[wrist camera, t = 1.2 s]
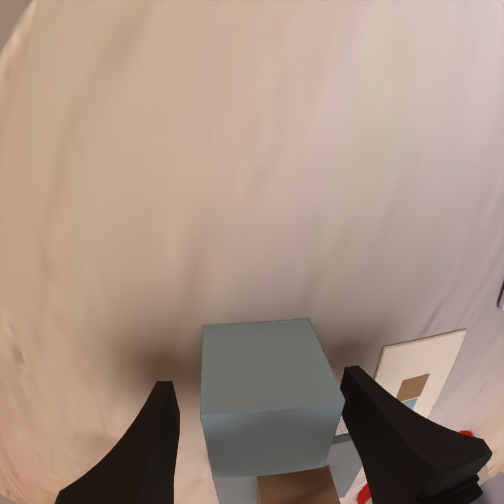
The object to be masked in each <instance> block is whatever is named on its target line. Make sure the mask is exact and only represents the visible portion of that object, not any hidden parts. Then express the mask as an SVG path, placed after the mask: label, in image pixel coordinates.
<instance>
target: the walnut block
mask: <svg viewBox="0 0 504 504" xmlns="http://www.w3.org/2000/svg"><path fill="white" fill-rule="evenodd" d="M257 504H340V501H339V497H338V494H337V491H336V488H335V485H334V481H333V478H332V475H331V472H330V469H329V465H327V466H324V467H320V468H315V469H309V470H303V471H297V472H290V473H282V474H274V475H265V476H257Z"/></svg>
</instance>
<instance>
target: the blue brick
mask: <svg viewBox="0 0 504 504" xmlns="http://www.w3.org/2000/svg"><path fill="white" fill-rule="evenodd" d="M344 403H345V399H344V396H343V394H342V392H341V390H340V387H339V385H338V383H337V381H336V378H335V376H334V374H333V372H332V369H331V367H330V365H329V363H328V360H327V358H326V356H325V354H324V352H323V349H322V347H321V345H320V343H319V341H318V338H317V336H316V334H315V332H314V330H313V327H312V325H311V323H310V321H309V319H308V318H306V319H294V320H282V321H268V322H253V323H235V324H213V325H204V327H203V347H202V371H201V401H200V417H201V422H202V427H203V431H204V436H205V441H206V445H207V450H208V455H209V459H210V463H211V468H212V472H213V476H214V479H219V478H240V477H254V476H265V475H274V474H282V473H290V472H297V471H303V470H309V469H315V468H320V467H324V465H325V463H326V460H327V457H328V454H329V451H330V448H331V445H332V442H333V439H334V436H335V433H336V430H337V426H338V423H339V420H340V417H341V413H342V410H343V406H344Z"/></svg>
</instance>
